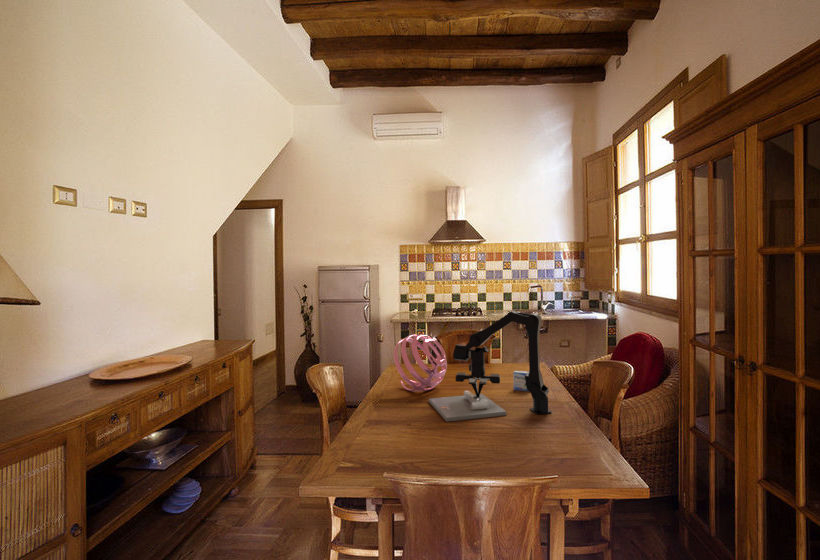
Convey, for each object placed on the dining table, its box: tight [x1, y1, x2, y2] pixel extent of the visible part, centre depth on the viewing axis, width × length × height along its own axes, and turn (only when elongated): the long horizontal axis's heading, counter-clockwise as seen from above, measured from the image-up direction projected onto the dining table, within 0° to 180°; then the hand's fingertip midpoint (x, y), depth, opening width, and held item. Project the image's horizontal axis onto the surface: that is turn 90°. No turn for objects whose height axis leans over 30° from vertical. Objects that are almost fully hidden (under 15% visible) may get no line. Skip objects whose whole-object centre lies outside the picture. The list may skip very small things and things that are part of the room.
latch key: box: [463, 390, 488, 410], centre depth 180 cm, size 16×7×3 cm, turn 13°
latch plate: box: [428, 393, 507, 422], centre depth 179 cm, size 25×25×2 cm
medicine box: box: [512, 370, 530, 393], centre depth 204 cm, size 8×4×9 cm, turn 62°
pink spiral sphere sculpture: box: [393, 333, 448, 392], centre depth 209 cm, size 28×28×27 cm
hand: (478, 397), depth 184 cm, fingers closed
